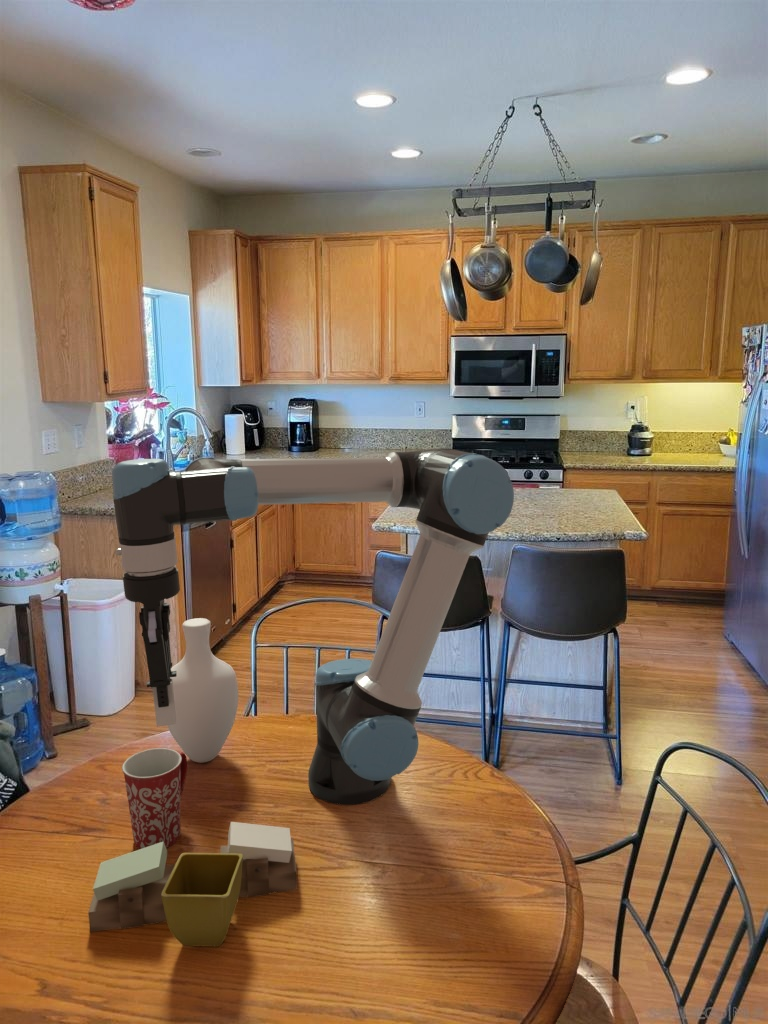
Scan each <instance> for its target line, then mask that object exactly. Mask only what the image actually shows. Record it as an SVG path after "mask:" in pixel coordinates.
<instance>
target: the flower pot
mask: <svg viewBox="0 0 768 1024" xmlns="http://www.w3.org/2000/svg"><path fill="white" fill-rule="evenodd" d="M242 862H243V855H242V854H239V853H220V852H219V853H218V852H215V853H214V852H213V853H212V852H208V853H207V852H182V853H181V854H179V857H178V858H177V861H176V863H174V864H175V867H174V869H173V871H172V873H171V875H170V877H169V879H168V881H167V883H166V885H165V887H164V889H163V891H162V894H161V896H162V901H163V906H164V911H165V915H166V920H167V922H166V924H167V927H168V930H169V931H170V932H171V934H172V935H173V936H174V938H175V939H176V940H177V941H178V942H179V943H181V945H182V946H185V947H219V946H221V945H222V944H223V942H224V941H225V938H226V936H227V934H228V931H229V927H230V925H231V921H232V918H233V915H234V913H235V911H236V910H235V909H236V907H237V904H238V900H239V898H240V897H239V893H240V887H241V875H242ZM238 897H239V898H238Z"/></svg>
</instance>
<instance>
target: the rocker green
mask: <svg viewBox="0 0 768 1024" xmlns="http://www.w3.org/2000/svg"><path fill="white" fill-rule="evenodd" d="M167 857H168V849H167V848H166V847H165V844H164V842H160V843H157V844H154V845H151V846H148V847H145V848H142V849H139V848H138V849H137V850H134V851H131V852H128V853H124V854H122V855H119V856H116V857H113V858H110V859H107V860H104V861H101V862H100V864H99V867H98V871H97V874H96V878H95V880H94V883H93V887H92V891H93V894H94V893H95V896H96V898H97V901H98V900H101V899H104V898H107V897H110V896H113V895H116V894H119V890H123V889H131V888H136V887H139V886H142V885H145V884H148V883H151V882H154V881H157V880H159V879H162V878H163V877H164V870H165V865H167V864H166V863H167Z"/></svg>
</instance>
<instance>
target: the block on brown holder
mask: <svg viewBox="0 0 768 1024" xmlns="http://www.w3.org/2000/svg"><path fill="white" fill-rule="evenodd" d="M291 848H292V852H291V857H290V861H289V863H286V862H276V861H268V858H262V859H245V858H243V862H242V875H241V887H240V893H239V897H238V899H239V898H245V897H248V898H252V897H260V896H268V895H270V894H275V893H284V892H285V893H286V892H291V891H292V892H293V891H298V881H297V878H298V875H297V864H296V855H295V854H296V853H295V844H294V838H293V837H291ZM219 853H228V844H227V845H221V846H220V852H219Z"/></svg>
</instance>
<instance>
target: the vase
mask: <svg viewBox="0 0 768 1024" xmlns="http://www.w3.org/2000/svg"><path fill="white" fill-rule="evenodd" d="M211 628H212V624H211V620H209V619H207V618H205V617H204V618H203V617H199V618H196V617H195V618H191V619H187V620H184V622H183V623H182V631H183V634H184V639H185V640H184V641H185V653H184V655H183V658H181V660H180V661H178V663H176V664H174V665H172V668H171V671H176V673H177V676H176V677H170V678H171V679H172V682H173V692H174V701H175V711H176V724H173V725H166V726H167V728H168V731H169V733H170V734H171V736H172V738H173V739H174V741H175V742H176V743H177V744H178V746H179V747H180V749H181V750H182V752H183V753H184V754H185V755H186V757H187V758H189V760H190V761H192V762H195V763H207V762H210V761H212V760H214V759H215V758H217V756H218V755H219V754H220V752H221V751H222V748H223V746H225V743H226V741H227V739H228V737H229V735H230V733H231V731H232V729H233V727H234V726H233V725H234V723H235V720H236V715H237V713H238V712H237V710H238V706H239V705H238V704H239V685H238V679H237V675H236V672H235V670H234V669H233V667H232V665H230V664H229V663H227V662H225V661H224V660H222V659H219V658H218V657H216V656H215V655H214V654H213V652H212V650H211V647H210V634H211Z"/></svg>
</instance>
